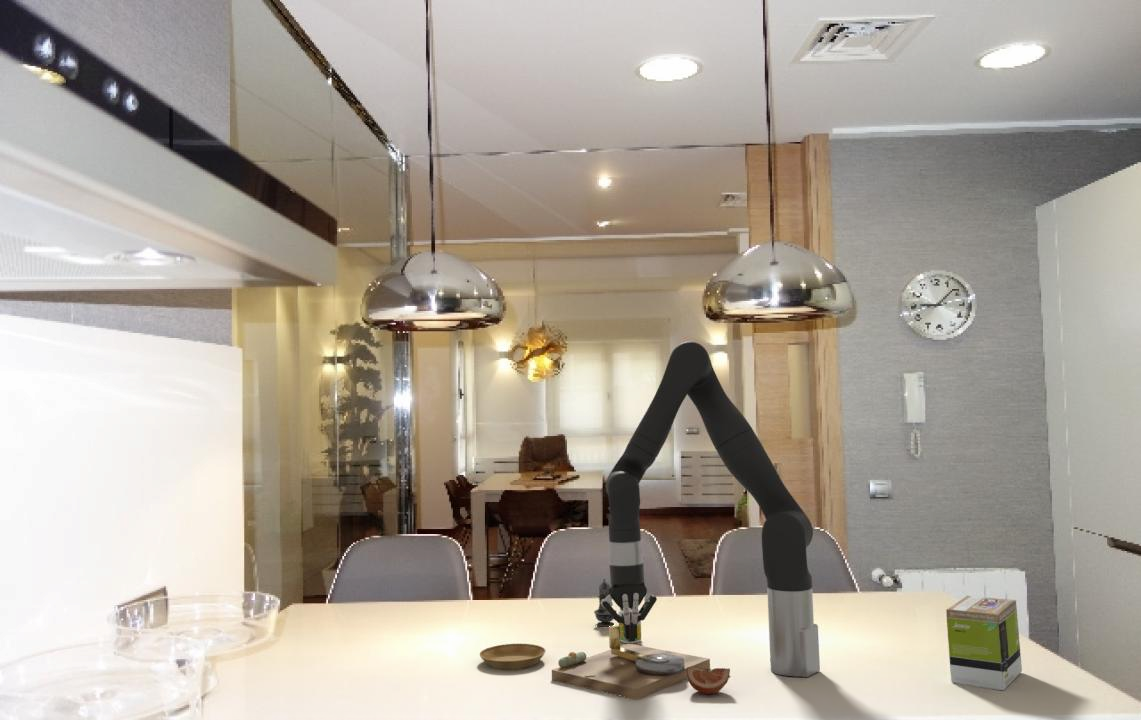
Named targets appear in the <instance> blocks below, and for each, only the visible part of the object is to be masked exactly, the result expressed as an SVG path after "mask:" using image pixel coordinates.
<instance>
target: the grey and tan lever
mask: <svg viewBox="0 0 1141 720" xmlns="http://www.w3.org/2000/svg"><path fill="white" fill-rule="evenodd" d="M608 635H609V636H608V640H609V646H608V647H609V650H611V654H613V655H616V656H620V657H623V658H627V659H630V660H634V661H636V669H637V670H638V671H639V672H642V673H646V674H653V675H668V674H675V673H679V672H681V671H683V670H684V669H685V663H684V659H683V658H682V657H680V656H676V655H671V654H649V655H646V654H642V653H639V652H635V651H632V650H628V649H624V648H621V647H620V646H621V642H620V627H619V625H616V626H610V627H609V628H608Z"/></svg>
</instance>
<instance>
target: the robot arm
mask: <svg viewBox="0 0 1141 720" xmlns="http://www.w3.org/2000/svg"><path fill="white" fill-rule="evenodd" d="M687 396H688V397H689V399H690V400H691V401H692V404H693V405H694V406H695V408H696V410H697V411H698V413H699V415H700V418H701V420H702V422H703V425H704V427H705V430H706V432H707V434H708V437H709V439H710V441H711V443H712V445H713V446H714V449H715V450H716V452H717V454H718V456H719V457H720V459H721V461H722V463H723V464H724V466H725V467H726V468H727V470H728V471H729V473H730V475H732V477H734V479H735V480H736V481H737V483H739V484H740V485H741V486H742V487H743V488H744V489H745V490H746V491H747V492H748V493H749V494H750V495H751V496H752V498H753V499H754V500H755V502H756V503H757V505H758V506H759V508H760V511H761V512H762V514H763V516H764V518H765V521H764V522H763V525H762V529H761V552H762V562H763V563H762V565H763V572H764V575H765V578H766V584H767V588H766V589H767V591H766V592H767V610H768V611H767V612H768V613H767V614H768V632H769V633H768V634H769V636H768V637H769V639H768V640H769V641H768V642H769V656H770V658H769V661H770V671H771V672H773V674H777V675H781V676H785V677H802V678H803V677H804V678H808V677H810V676H813V675H814V674H817V673H818V672H820V671H821V664H820V661H821V660H820V645H819V644H820V643H819V641H820V640H819V626H818V624H817V623H815V622H814V620H815V619H814V618H815V617H814V600H813V596H814V595H813V576H812V575H811V574H812V573H810V572H809V568H808V557H807V556H808V555H807V548H808V547H809V545H811V542H812V540H813V536H814V529H813V525H812V522H811V520H810V518H809V517H808V516H807V514H806V513H805V512H804V510H803V509H802V508H801V506H800V505H799V503H798V502H797V501H796V500H795V498H794V496H792V494H791V492H790V491H789V490H788V489H787V486H786V485H785V484H784V482H783V481H782V479H781V477H780V475H779V473H778V471H777V469H776V467H775V465H774V464H773V462H772V461H771V458H770V457H769V455H768V454H767V451H766V450H765V448H764V446H763V444H762V442H761V441H760V439H759V437H758V435H757V434H756V432H755V431H754V430H753V428H752V426H751V425H750V423H749V421H748V420H747V419H746V417H745V416H744V415H743V413H742V412H741V411H740V410H739V408H738V407H737V406H736V405H735V404H734V403H733V402H732V401H731V399H730V398H729V396H728V395H727V394H726V392H725V390H724V388H723V385H722V384H721V382H720V380H719V378H718V376H717V374H716V372H715V370H714V367H713V364H712V361H711V358H710V355H709V352H708V351H707V349H706V348H705V347H704V346H703V345H702V344H700V343H699V342H695V341H685V342H681V343H679V344H678V345H677V346H675V348H674V349H673V350H672V351H671V353H670V356H669V359H668V363H667V365H666V368H665V370H664V373H663V375H662V378H661V381H660V384H659V385H658V387H657V390H656V393H655V394H654V397H653V399H652V400H651V402H650V404H649V406H648V408H647V409H646V411H645V413H644V415H643V417H642V419H640V422H639V424H638V425H637V427H636V429H634V430H635V431H634V433H632V436H631V438H630V439H629V441H628V443H627V445H626V447H625V449H624V452H623V453H622V454H621V456H620V457H619V459H618V460H617V462H616V463H615V465H614V466H613V468H612V469H611V471H610V472H609V474H608V476H607V478H606V482H605V491H606V494H607V495H608V496H607V497H608V505H609V519H608V538H609V545H608V557H609V558H608V561H609V563H608V565H609V578H610V579H609V580H610V583H609V584H610V590H609V595H608V596H607V597H606V598H605V599H602V600H601V601H600V603H601V605H602V606H603V607H604V608H605V609H606V610H607V611H608V613H609V614H610V615H611V616H612V617H613V618H614V619H613V621H616V622H617V623H618V624H619V623H623V635H624V638H625V639H627V641H628V642H634V641H635V639H636V638H637V636H638V634H637V623H638V622H639V621H641V622H642V621H644V620H646V618H647V616H648V615H649V613H650V612H651V610H652V608H653V607H654V606H655V604H656V602H657V599H658V598H657V597H656V596H655V595H654V594H652V593H650V592H648V588H647V587H646V583H645V568H644V565H645V564H644V552H643V551H644V550H643V545H642V540H641V539H642V536H641V533H642V532H641V522H640V508H641V507H640V504H641V503H640V501H641V500H640V499H641V492H640V490H641V489H640V483H641V481H642V479H643V478H644V475H645V474H646V472H647V470H648V469H649V468H650V467H651V466H652V465H653V464H654V462H655V461H656V459H657V457H658V456H659V453H660V452H661V450H662V449H663V447H664V445H665V442H666V440H667V439H668V437H669V434H670V432H671V430H672V427H673V423H674V422H675V419H676V416H677V414H678V412H679V410H680V407H681V406H682V404H683V402H684V400H685V398H686V397H687ZM643 600H644V603H643V605H642V606H641V608H640V609H639V606H640V605H641V603H642V602H643ZM613 603H615V604H616V606H617V607H619V610H620V612H621V616H619V615H618V612H616V611H617V610H616V609H614V608H613V605H614V604H613ZM638 609H639V612H638ZM615 610H616V611H615Z"/></svg>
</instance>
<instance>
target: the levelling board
mask: <svg viewBox="0 0 1141 720" xmlns="http://www.w3.org/2000/svg"><path fill="white" fill-rule="evenodd" d="M620 647H621V648H624V649H628V650H632V651H635V652H639V653H642V654H646V655H649V654H671V655H676V656H680V657H682V658H683V659H684V663H685V669H684V670H683V671H681V672H679V673H675V674H668V675H653V674H646V673H642V672H639V671H638V670H637V669H636V661H634V660H630V659H627V658H623V657H620V656H616V655H613V654H611V649H609V650H605V651H603V652H600V653H597V654H594V655H591V656H588V657H587V654H586V653H585V652H584V651H579V652H575V651H571V652H569V653H568V655H567V656H564V657H561V658H560V659H559V660H558V661H557V662H558V666H559V667H556V668H552V669H551V680H552V681H556V682H560V683H565V684H567V685H568V684H569V685H573V686H577V687H581V688H586V689H589V690H593V689H594V691H597V690H598V692H602V691H603V692H602V693H606V692H608V693H607V694H610V693H612V694H611V695H614V694H616V695H615V696H618V695H621V696H620V697H623V696H625V697H624V698H627V697H629V698H628V699H631V698H633V699H632V700H635V699H637V700H639V699H642V698H644V697H646V695H647V696H649V695H651V694H653V692H654V693H656V692H658V691H660V690H662V689H665V688H668V687H669V686H673V685H675V684H677V683H679V682H682V681H684V680H686V679H688V678H687V667H697V668H706V669H708V670H711V659H710V658H707V657H702V656H697V655H691V654H687V653H686V654H685V653H680V652H676V651H669V650H665V649H660V648H654V647H649V646H644V645H637V644H634V643H624V644H622V645H620ZM648 694H649V695H648ZM643 696H644V697H643ZM641 697H642V698H641ZM638 698H639V699H638Z"/></svg>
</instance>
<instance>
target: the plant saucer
mask: <svg viewBox="0 0 1141 720" xmlns="http://www.w3.org/2000/svg"><path fill="white" fill-rule="evenodd" d="M546 652H547V651H546V648H545V647H542V646H540V645H537V644H531V643H508V644H507V643H505V644H499V645H494V646H490V647H487V648H484V649H483V650H481V651H480V652H479V656H480V658H481V660H482V661H484V663H486V664H487V665H488V666H489V667H490V668H492V669H498V670H521V669H527V668H530V667H533V666H535V665H536V664H538V663H539V662H540V660H541V659H542V657H544V655H545V653H546Z"/></svg>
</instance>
